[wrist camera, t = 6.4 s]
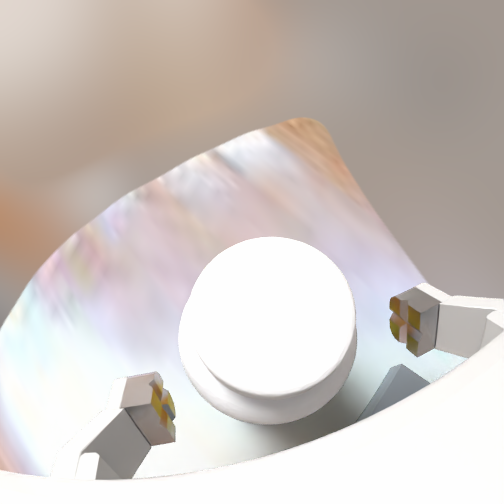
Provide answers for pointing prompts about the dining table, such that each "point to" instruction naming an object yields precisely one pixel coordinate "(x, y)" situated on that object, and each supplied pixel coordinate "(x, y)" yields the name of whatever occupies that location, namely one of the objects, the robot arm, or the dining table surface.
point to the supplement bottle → (269, 331)
